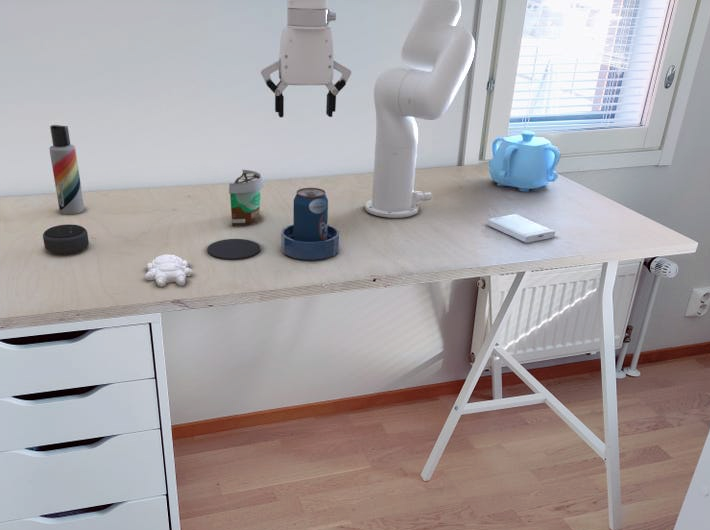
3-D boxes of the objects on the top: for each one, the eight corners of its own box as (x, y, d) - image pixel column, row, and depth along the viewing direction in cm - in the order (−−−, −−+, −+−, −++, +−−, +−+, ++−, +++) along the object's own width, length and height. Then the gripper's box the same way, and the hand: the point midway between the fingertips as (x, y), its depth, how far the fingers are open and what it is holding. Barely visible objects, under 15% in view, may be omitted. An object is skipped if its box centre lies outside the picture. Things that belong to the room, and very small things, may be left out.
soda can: (328, 254, 144) (330, 196, 138) (294, 255, 144) (294, 197, 138) (324, 242, 150) (326, 186, 144) (292, 243, 150) (292, 187, 144)
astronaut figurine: (144, 288, 131) (142, 273, 129) (148, 263, 141) (146, 249, 140) (192, 286, 132) (191, 271, 130) (192, 261, 142) (191, 247, 140)
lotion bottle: (54, 213, 168) (39, 126, 158) (69, 206, 172) (56, 121, 162) (74, 216, 166) (61, 128, 156) (89, 208, 171) (76, 123, 161)
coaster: (252, 238, 153) (252, 236, 153) (266, 256, 144) (266, 254, 144) (202, 243, 151) (202, 241, 150) (213, 262, 142) (213, 260, 141)
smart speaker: (68, 259, 143) (64, 241, 141) (36, 251, 147) (32, 233, 145) (98, 245, 150) (95, 227, 148) (67, 238, 153) (64, 220, 151)
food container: (257, 230, 158) (256, 185, 153) (230, 228, 159) (228, 184, 154) (269, 212, 168) (269, 170, 163) (244, 210, 169) (243, 168, 164)
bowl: (327, 237, 154) (327, 220, 152) (346, 257, 144) (347, 238, 142) (274, 243, 151) (274, 225, 149) (291, 264, 141) (291, 245, 139)
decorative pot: (490, 192, 182) (498, 138, 175) (485, 174, 196) (492, 124, 189) (556, 195, 180) (566, 141, 173) (546, 177, 193) (556, 126, 186)
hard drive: (487, 218, 159) (526, 236, 150) (516, 213, 163) (555, 230, 153) (486, 226, 160) (525, 243, 151) (515, 220, 163) (554, 237, 154)
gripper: (349, 18, 135) (344, 112, 143) (258, 17, 133) (259, 112, 141) (357, 21, 129) (352, 119, 137) (262, 20, 127) (262, 120, 135)
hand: (305, 115), depth 139 cm, fingers open, 9 cm apart
